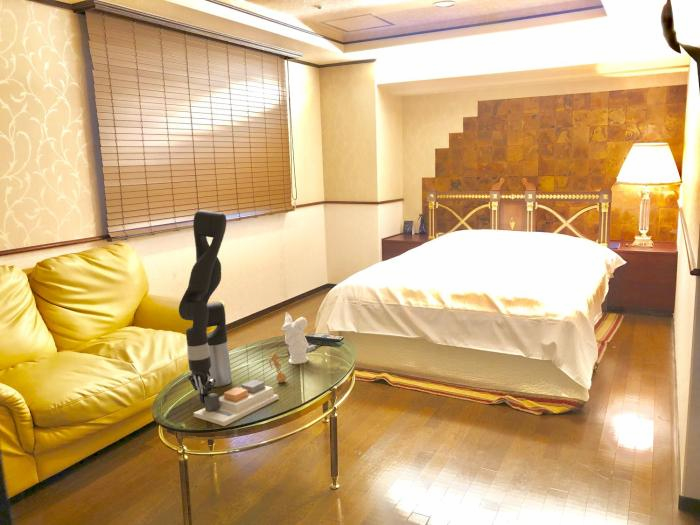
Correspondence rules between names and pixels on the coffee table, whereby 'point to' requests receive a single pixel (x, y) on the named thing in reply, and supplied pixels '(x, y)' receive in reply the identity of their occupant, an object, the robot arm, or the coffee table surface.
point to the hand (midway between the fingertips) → (204, 402)
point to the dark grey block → (211, 402)
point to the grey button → (253, 386)
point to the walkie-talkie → (308, 348)
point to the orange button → (235, 394)
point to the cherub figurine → (296, 339)
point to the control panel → (237, 407)
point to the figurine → (278, 368)
